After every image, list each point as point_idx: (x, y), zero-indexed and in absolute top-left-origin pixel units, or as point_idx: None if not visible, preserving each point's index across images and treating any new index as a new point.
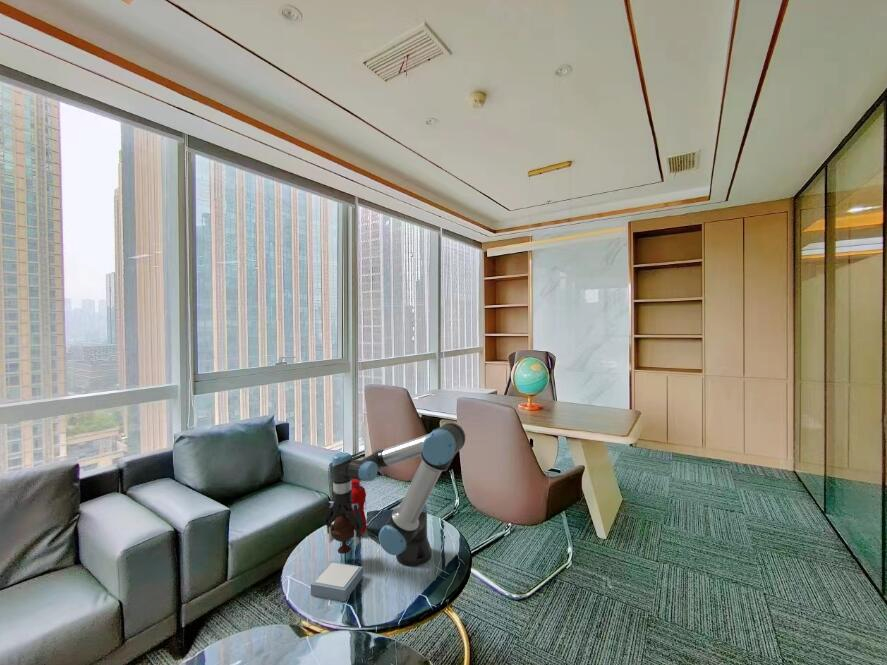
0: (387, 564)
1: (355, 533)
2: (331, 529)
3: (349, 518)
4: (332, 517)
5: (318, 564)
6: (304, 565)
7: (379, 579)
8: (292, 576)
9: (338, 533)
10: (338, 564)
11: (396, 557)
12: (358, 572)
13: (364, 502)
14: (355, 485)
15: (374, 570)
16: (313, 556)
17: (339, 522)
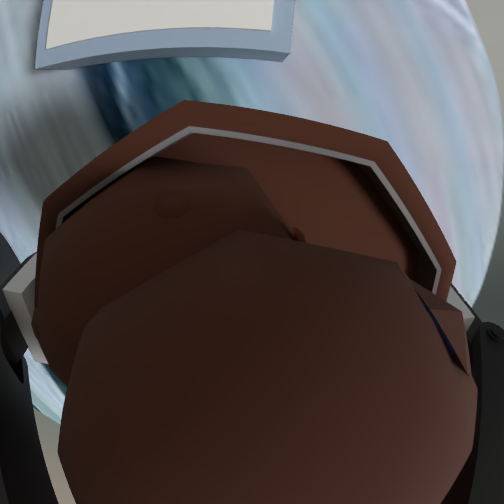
0: (17, 200)
1: (28, 261)
2: (435, 281)
3: (8, 493)
4: (498, 470)
5: (393, 127)
6: (457, 120)
7: (3, 88)
8: (469, 33)
9: (267, 188)
10: (202, 19)
11: (4, 246)
12: (42, 15)
13: None
14: None
15: (40, 138)
16: (439, 201)
17: (224, 435)
